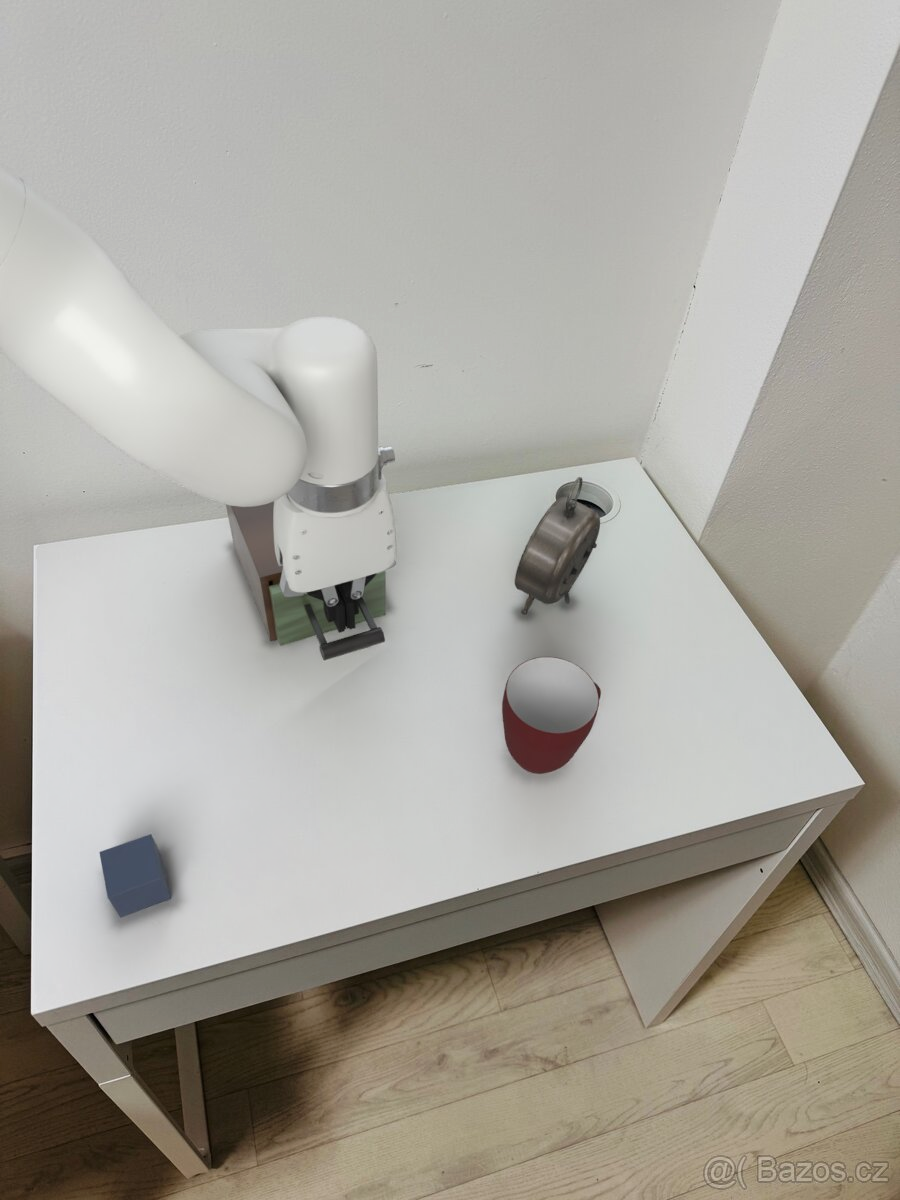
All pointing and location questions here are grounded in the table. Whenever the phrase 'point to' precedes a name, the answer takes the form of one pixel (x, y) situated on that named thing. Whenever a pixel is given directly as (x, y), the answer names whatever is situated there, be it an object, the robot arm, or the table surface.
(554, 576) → the alarm clock
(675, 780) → the table surface
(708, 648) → the table surface
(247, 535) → the cabinet
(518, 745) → the mug
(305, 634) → the drawer
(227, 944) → the table surface
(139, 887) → the block
